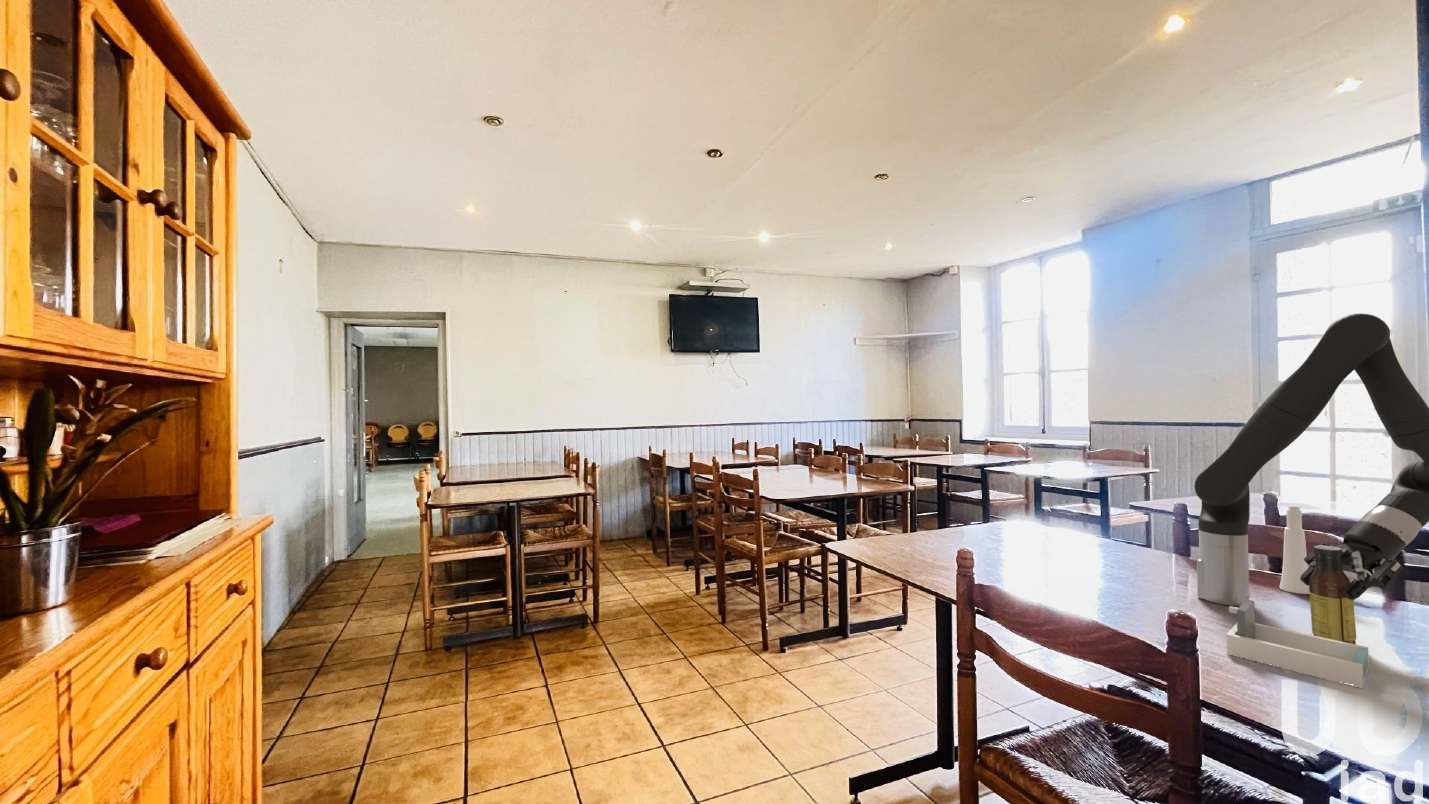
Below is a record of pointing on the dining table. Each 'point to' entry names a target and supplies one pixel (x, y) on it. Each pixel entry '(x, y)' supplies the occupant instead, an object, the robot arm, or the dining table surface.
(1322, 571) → the sauce bottle
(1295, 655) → the pusher lane
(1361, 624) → the dining table surface
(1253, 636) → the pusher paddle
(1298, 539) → the cosmetic bottle
